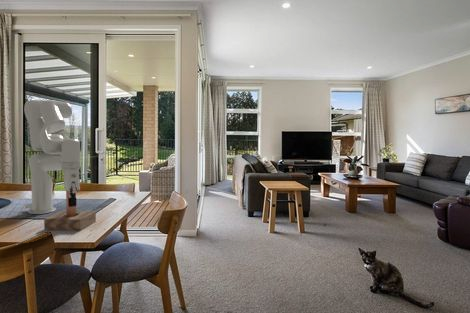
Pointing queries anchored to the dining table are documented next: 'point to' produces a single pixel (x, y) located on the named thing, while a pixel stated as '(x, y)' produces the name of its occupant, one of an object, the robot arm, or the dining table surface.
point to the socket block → (70, 221)
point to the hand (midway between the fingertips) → (71, 204)
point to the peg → (69, 210)
